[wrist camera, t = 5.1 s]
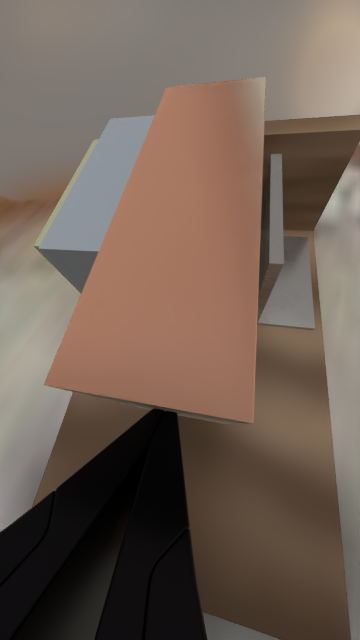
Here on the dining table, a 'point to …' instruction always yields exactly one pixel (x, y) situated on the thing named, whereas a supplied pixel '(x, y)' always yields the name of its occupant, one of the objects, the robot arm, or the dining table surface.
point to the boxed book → (179, 265)
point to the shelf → (259, 441)
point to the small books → (92, 200)
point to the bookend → (282, 263)
